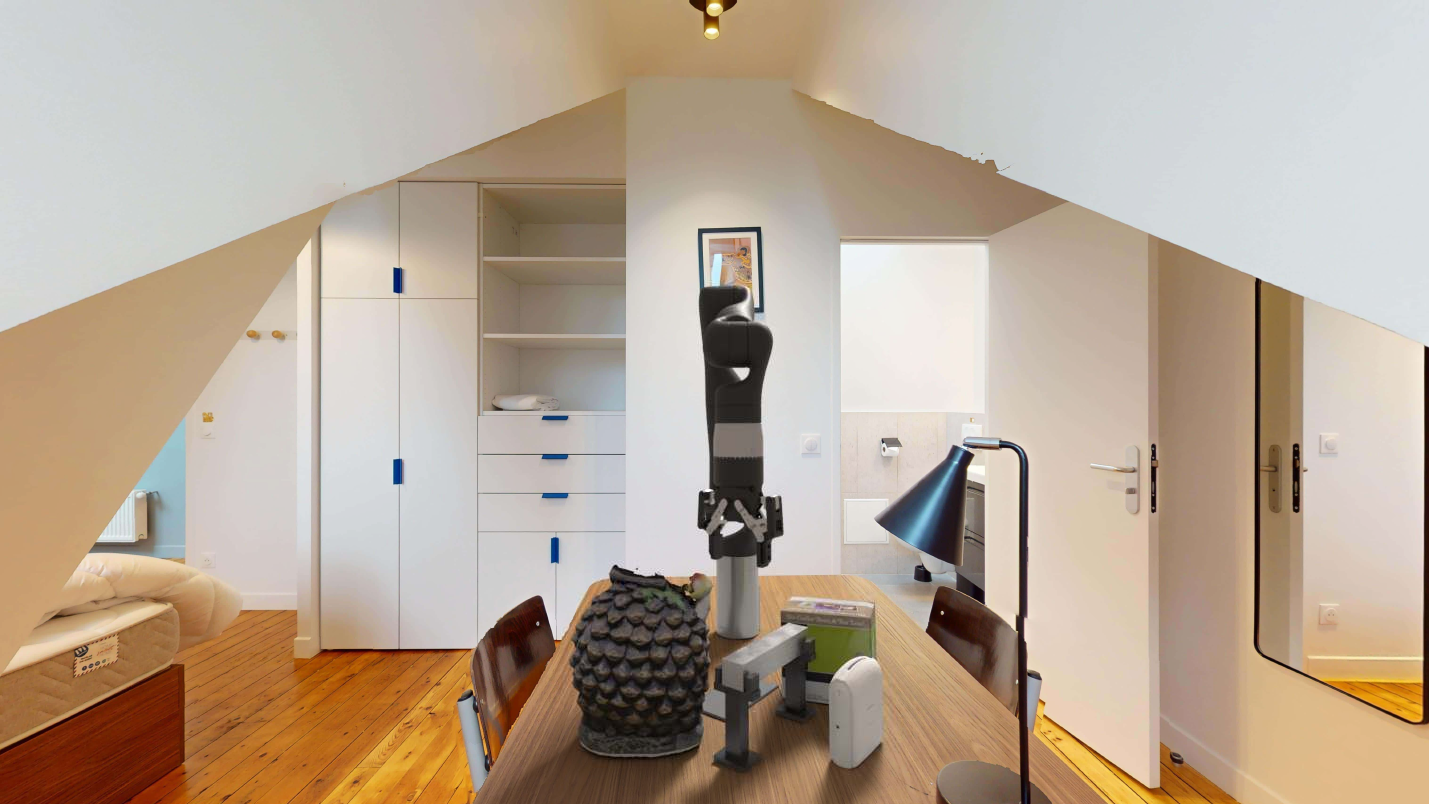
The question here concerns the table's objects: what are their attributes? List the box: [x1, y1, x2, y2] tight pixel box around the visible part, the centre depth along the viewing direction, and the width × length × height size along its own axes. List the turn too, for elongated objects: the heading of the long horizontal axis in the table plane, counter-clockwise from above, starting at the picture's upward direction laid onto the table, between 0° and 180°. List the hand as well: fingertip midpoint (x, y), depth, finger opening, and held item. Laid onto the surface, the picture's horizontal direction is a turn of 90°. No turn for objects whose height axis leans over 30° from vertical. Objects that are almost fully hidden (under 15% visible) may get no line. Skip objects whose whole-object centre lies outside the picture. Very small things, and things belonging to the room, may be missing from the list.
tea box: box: [780, 595, 878, 705], centre depth 100 cm, size 15×10×15 cm, turn 71°
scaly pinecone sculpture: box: [568, 564, 714, 758], centre depth 85 cm, size 21×15×25 cm
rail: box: [721, 623, 808, 692], centre depth 86 cm, size 18×4×4 cm, turn 143°
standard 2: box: [774, 638, 817, 725], centre depth 92 cm, size 4×6×12 cm, turn 53°
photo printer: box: [828, 656, 884, 769], centre depth 82 cm, size 10×4×12 cm, turn 140°
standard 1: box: [713, 663, 762, 775], centre depth 79 cm, size 4×6×12 cm, turn 53°
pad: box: [701, 679, 780, 722], centre depth 98 cm, size 15×8×1 cm, turn 143°
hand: (738, 562), depth 87 cm, fingers open, 8 cm apart
